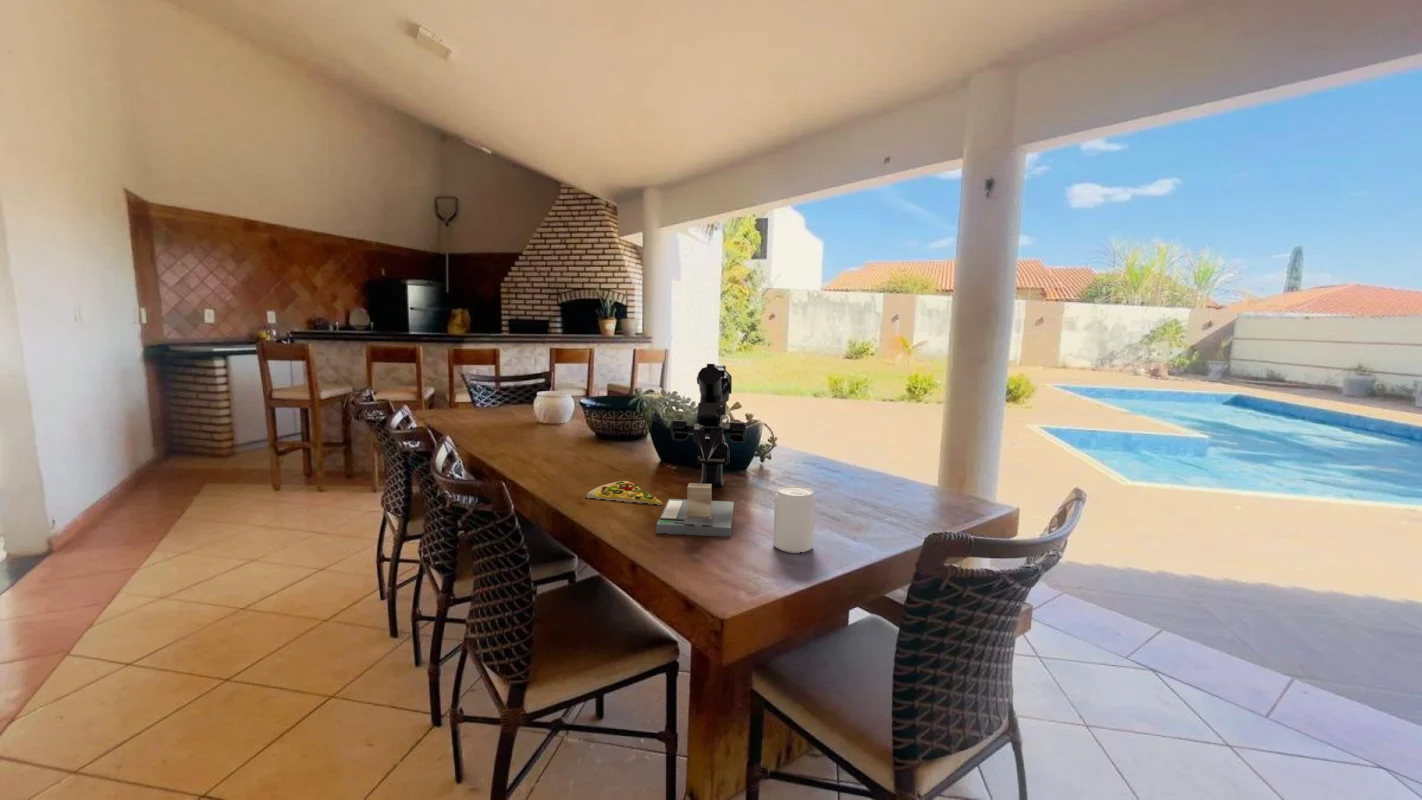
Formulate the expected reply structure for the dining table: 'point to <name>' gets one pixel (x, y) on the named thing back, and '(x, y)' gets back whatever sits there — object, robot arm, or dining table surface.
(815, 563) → the dining table surface
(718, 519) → the board
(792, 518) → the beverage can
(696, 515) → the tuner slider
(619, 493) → the pizza slice
